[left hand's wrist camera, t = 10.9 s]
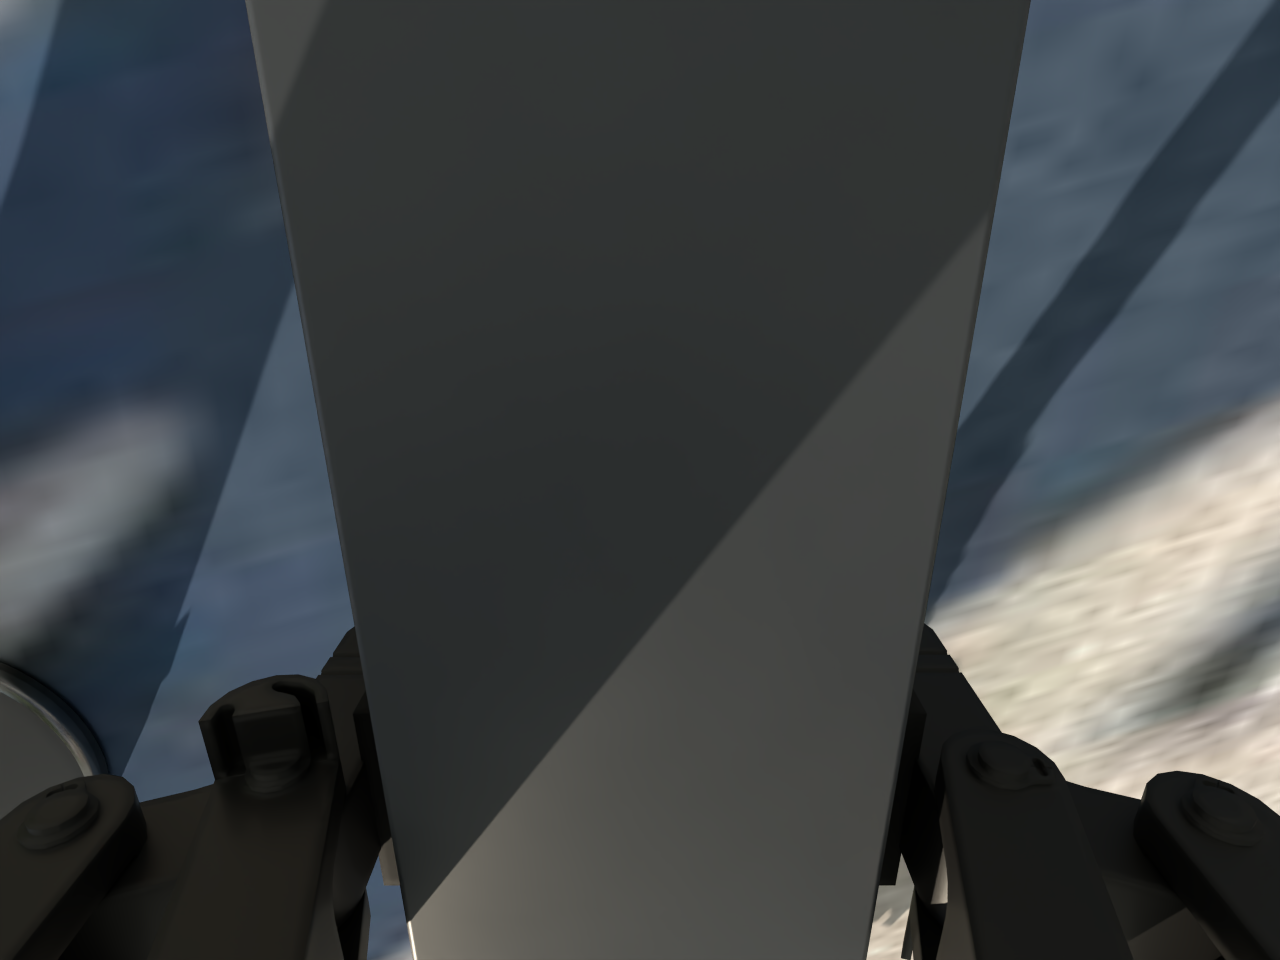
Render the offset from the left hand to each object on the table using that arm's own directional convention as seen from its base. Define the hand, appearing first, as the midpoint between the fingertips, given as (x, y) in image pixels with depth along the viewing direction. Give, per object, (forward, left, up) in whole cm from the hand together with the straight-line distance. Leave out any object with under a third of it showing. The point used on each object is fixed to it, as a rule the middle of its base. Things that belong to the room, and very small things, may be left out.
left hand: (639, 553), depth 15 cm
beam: (+7, +21, -1) cm, 22 cm away
